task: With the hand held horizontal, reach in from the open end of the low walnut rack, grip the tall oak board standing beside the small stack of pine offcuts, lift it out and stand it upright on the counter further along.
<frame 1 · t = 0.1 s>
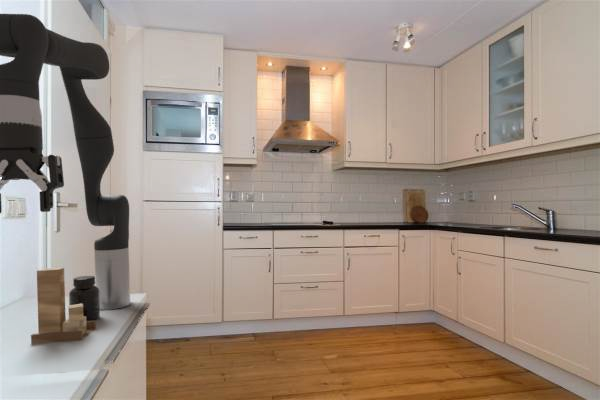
hand: (20, 212, 71), 29 cm above the worktop, tool pointing down, fingers open, 8 cm apart
small pine offcut: (76, 319, 87), point 5 cm above the worktop, touching pine offcut
supplement bottle: (85, 325, 98), on the worktop
pine offcut: (75, 335, 86), point 1 cm above the worktop, touching small pine offcut, walnut rack
oak board: (52, 336, 86), point 1 cm above the worktop, touching walnut rack
walnut rack: (65, 340, 86), on the worktop
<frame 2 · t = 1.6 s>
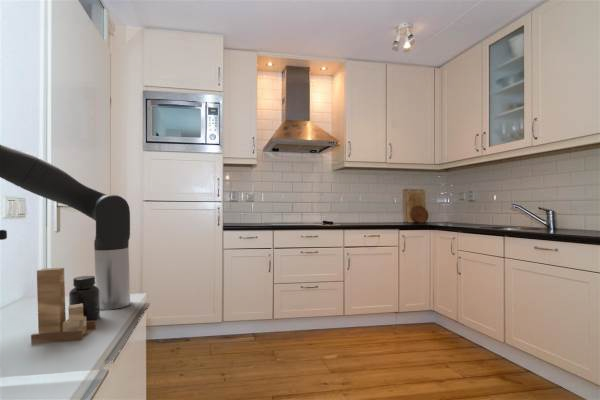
nothing on the worktop moved.
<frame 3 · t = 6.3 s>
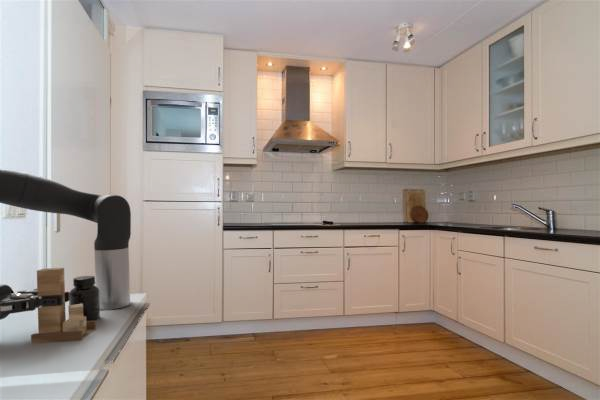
hand: (65, 298, 86), 9 cm above the worktop, tool horizontal, fingers closed on oak board, 2 cm apart
oak board: (52, 336, 86), point 1 cm above the worktop, touching gripper, walnut rack
everything else where it was.
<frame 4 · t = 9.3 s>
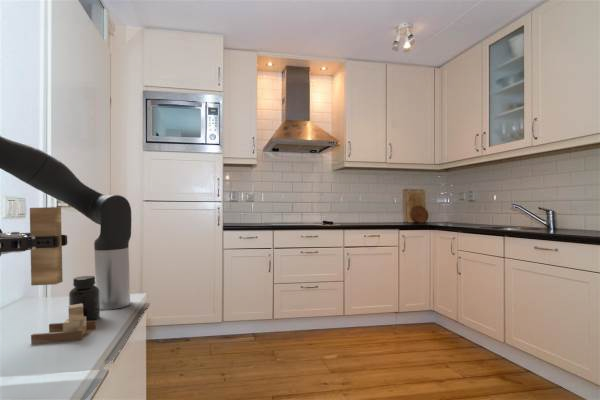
hand: (62, 240, 76), 23 cm above the worktop, tool horizontal, fingers closed on oak board, 2 cm apart
oak board: (47, 283, 76), point 15 cm above the worktop, touching gripper
everything else where it was.
when the fingers open (10 cm above the worktop, at t = 11.9 s): oak board drops 2 cm, on the worktop.
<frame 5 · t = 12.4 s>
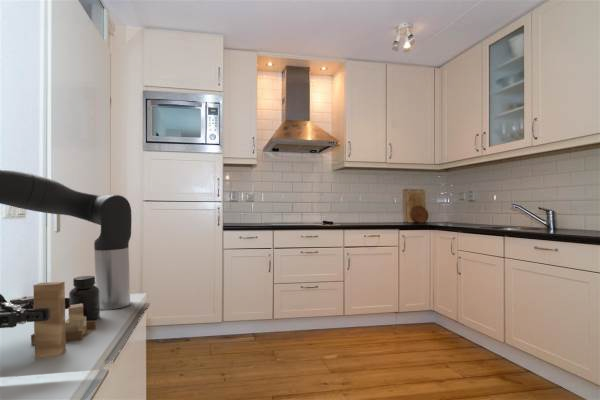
hand: (59, 308, 76), 10 cm above the worktop, tool horizontal, fingers open, 7 cm apart
oak board: (50, 359, 76), on the worktop
everything else where it was.
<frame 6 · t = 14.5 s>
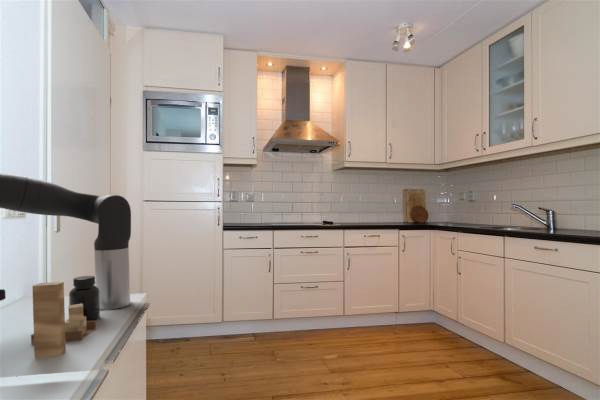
nothing on the worktop moved.
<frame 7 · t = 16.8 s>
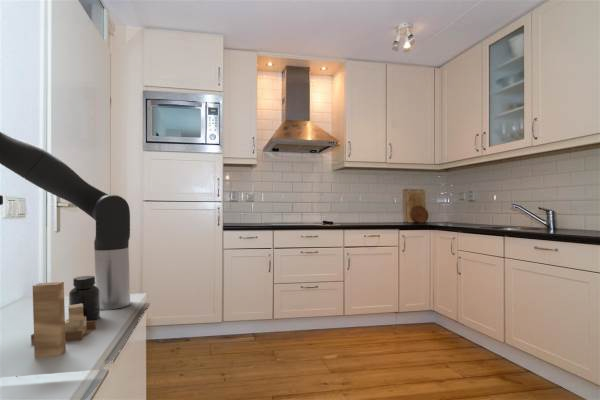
nothing on the worktop moved.
at the end: oak board inside the target area (0.1 cm from its centre), on the worktop; oak board tilted 0°; the gripper is holding nothing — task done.
